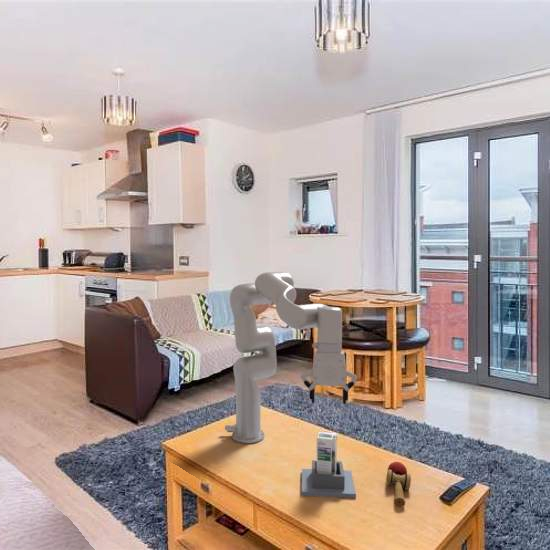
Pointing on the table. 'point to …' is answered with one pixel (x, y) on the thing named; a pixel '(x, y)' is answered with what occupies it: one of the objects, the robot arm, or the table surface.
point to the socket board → (328, 482)
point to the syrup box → (326, 453)
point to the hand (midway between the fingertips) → (328, 402)
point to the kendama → (398, 481)
